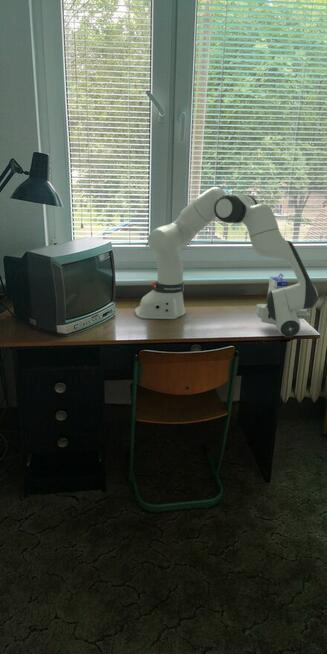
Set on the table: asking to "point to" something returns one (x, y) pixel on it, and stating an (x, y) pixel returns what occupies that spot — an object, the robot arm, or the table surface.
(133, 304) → the table surface
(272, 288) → the ink cartridge box
